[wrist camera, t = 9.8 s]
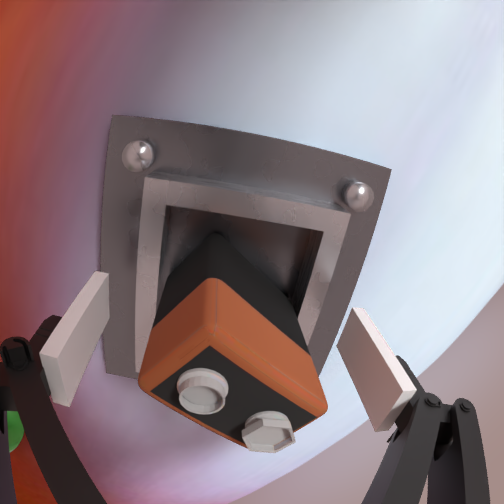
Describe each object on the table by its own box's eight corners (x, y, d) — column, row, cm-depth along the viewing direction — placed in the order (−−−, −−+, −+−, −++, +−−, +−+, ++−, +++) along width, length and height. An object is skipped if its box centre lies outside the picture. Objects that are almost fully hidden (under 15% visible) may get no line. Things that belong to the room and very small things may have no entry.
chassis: (119, 115, 16) (99, 114, 13) (382, 166, 18) (408, 175, 15) (110, 362, 22) (99, 391, 19) (306, 385, 25) (315, 414, 22)
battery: (243, 340, 21) (258, 472, 12) (164, 276, 19) (126, 406, 9) (293, 300, 20) (340, 428, 11) (215, 226, 18) (210, 341, 9)
